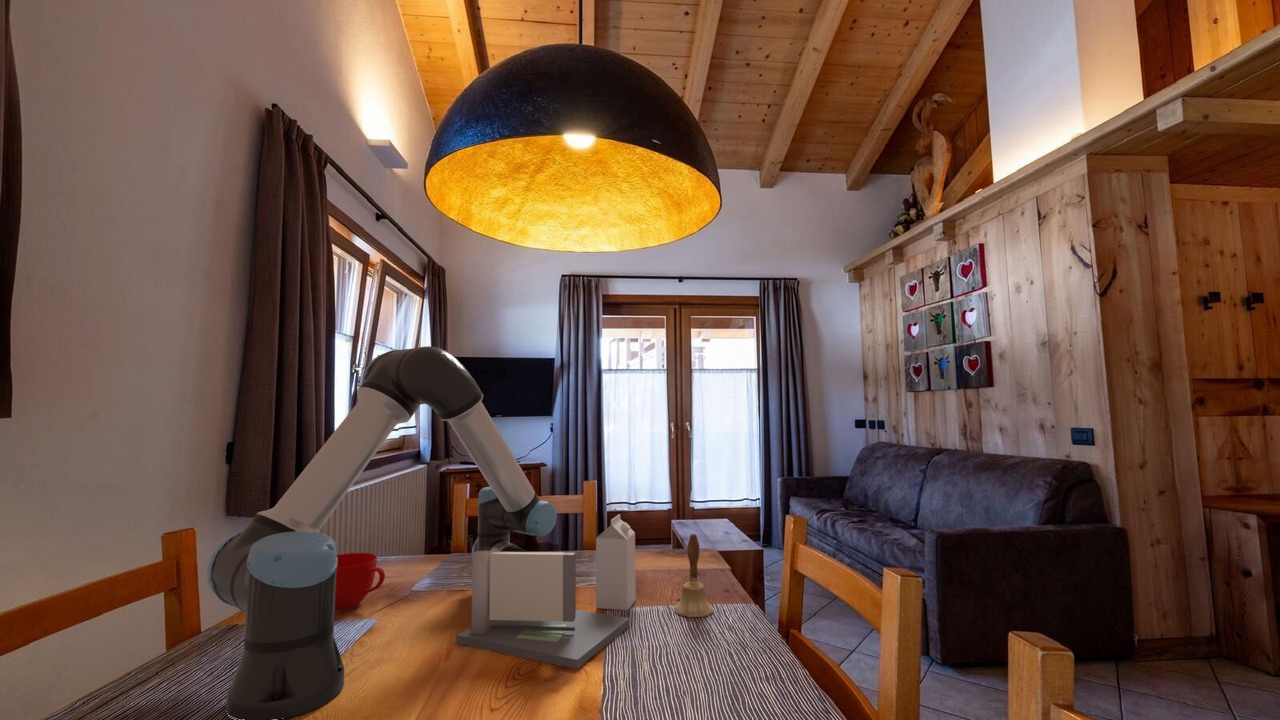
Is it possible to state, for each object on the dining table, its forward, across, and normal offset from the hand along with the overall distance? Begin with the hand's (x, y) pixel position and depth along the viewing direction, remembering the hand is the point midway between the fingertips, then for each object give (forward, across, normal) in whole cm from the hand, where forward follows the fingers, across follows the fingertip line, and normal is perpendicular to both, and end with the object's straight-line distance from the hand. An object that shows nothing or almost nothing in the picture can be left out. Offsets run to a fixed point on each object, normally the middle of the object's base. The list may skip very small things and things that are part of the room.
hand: (557, 589), depth 105 cm
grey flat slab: (-3, +1, -9) cm, 10 cm away
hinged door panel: (-3, +6, -7) cm, 10 cm away
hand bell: (+5, -30, -9) cm, 32 cm away
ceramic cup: (-43, +29, -9) cm, 53 cm away
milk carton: (-9, -19, -9) cm, 23 cm away
